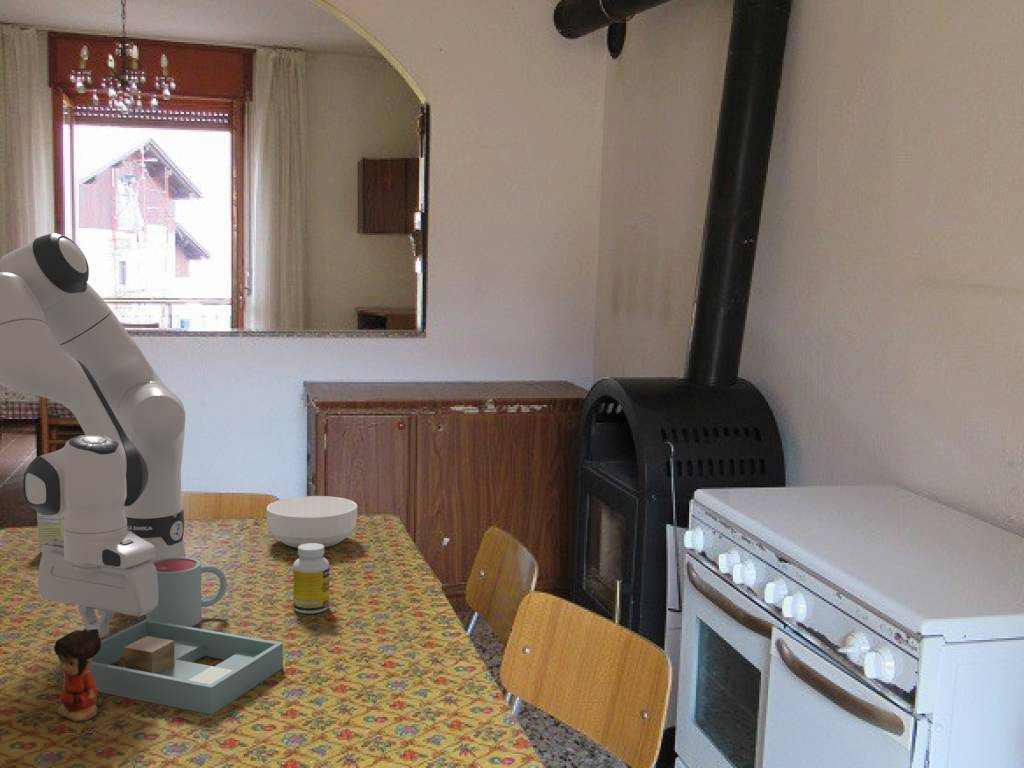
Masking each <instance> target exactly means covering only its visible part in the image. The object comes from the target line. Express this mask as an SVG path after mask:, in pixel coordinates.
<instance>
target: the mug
mask: <svg viewBox="0 0 1024 768" xmlns="http://www.w3.org/2000/svg"><path fill="white" fill-rule="evenodd" d="M152 563H153V564H154V565H155V567H156V571H157V577H158V604H157V606H156V608H155V609H154V610H153V611H152V612H150V613H148V614H145V616H146V620H152V621H158V622H164V623H170V624H175V625H181V626H187V627H193V626H196V625H197V624H199V623H201V621H202V615H203V614H202V608H203V607H205V608H209V607H211V606H214V605H216V604H218V602H220V601H221V600H222V598H223V597H224V595H225V594H226V590H227V588H228V587H227V586H228V583H227V581H228V580H227V578H226V574H225V573H224V572H223V571H222V569H220V568H218V567H217V566H215V565H203V566H202V562H201V561H200V560H198V559H197V558H193V557H187V556H186V557H171V558H163V559H158V560H155V561H152ZM206 573H212V574H214V575H216V576H217V577H218V579H219V582H220V583H219V584H220V585H219V586H220V587H219V589H218V592H217V593H216V594H215V595H214V596H213V597H211V598H210V599H202V575H203V574H206Z"/></svg>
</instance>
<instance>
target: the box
mask: <svg viewBox="0 0 1024 768" xmlns="http://www.w3.org/2000/svg"><path fill="white" fill-rule="evenodd" d="M36 522H37V538H38V540H37V542H38V553H39V552H42V546H43V545H44V543H45V542H46V541H48V540H49V539H50V538H57V539H59V540H64V529H63V527H64V523H65V518H64V516H63V515H55V516H54V515H42V514H40V513H39V512H37V511H36ZM48 544H49V543H48Z"/></svg>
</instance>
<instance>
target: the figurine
mask: <svg viewBox="0 0 1024 768" xmlns="http://www.w3.org/2000/svg"><path fill="white" fill-rule="evenodd" d="M100 648H101V637H100V636H99V632H98V629H93V630H92V629H91V630H86V628H85V629H83V630H79V629H78V630H74V631H71V632H70V633H67V634H65V635H64V636H62V637H61V638H59V639H57V640H56V641H55V644H54V646H53V651H54V652H55V654H56V656H57V657H58V659H59V666H60V668H61V671H62V672H63V674H64V673H65V677H64V676H63V679H64V678H65V684H63V686H62V691H61V693H60V701H61V703H62V705H60V707H59V708H58V711H57V714H58V715H59V716H61V717H63V718H65V720H66V719H67V720H70V721H72V722H75V723H81V722H87V721H88V720H91V719H92V718H94V717H95V716H96V715H97V714H98V712H99V711H98V707H97V705H96V701H97V699H98V695H99V693H98V689H97V686H96V685H95V679H94V678H93V676H92V674H91V673H90V670H89V668H88V666H89V665H90V664H91V662H92V659H91V658H92V657H94V656H95V655H96V654H97V653H98V652H99V650H100Z"/></svg>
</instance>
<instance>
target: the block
mask: <svg viewBox="0 0 1024 768" xmlns="http://www.w3.org/2000/svg"><path fill="white" fill-rule="evenodd" d="M123 661H124V665H123V667H124V668H128V669H133V670H139V671H144V672H149V673H154V674H159V675H160V674H162V673H163V672H165V671H167V670H169V669H171V668H172V667H174V666H175V660H174V641H173V640H167V639H162V638H156V637H151V636H145V637H143V638H141V639H139V640H137V641H135V642H133V643H131V644H129V645H127V646H125V647H124V657H123Z"/></svg>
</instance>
